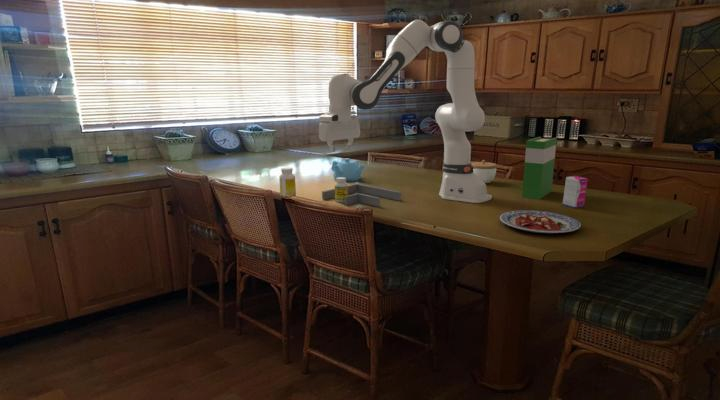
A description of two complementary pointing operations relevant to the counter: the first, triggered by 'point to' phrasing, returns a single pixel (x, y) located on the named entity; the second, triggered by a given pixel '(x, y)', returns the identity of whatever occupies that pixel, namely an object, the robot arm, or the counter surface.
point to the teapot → (347, 169)
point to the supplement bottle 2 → (341, 189)
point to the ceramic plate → (540, 221)
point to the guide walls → (362, 197)
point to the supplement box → (575, 191)
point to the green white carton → (539, 167)
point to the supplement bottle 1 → (287, 182)
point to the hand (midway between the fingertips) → (340, 150)
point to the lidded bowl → (485, 170)
